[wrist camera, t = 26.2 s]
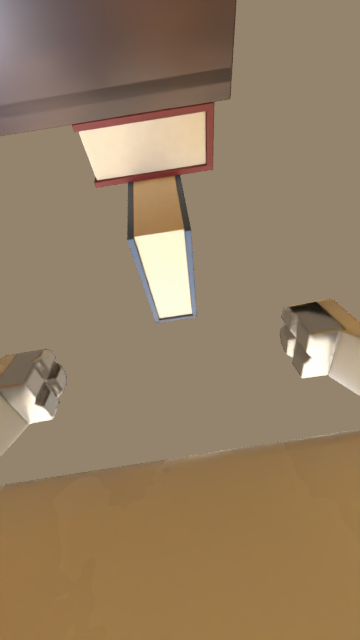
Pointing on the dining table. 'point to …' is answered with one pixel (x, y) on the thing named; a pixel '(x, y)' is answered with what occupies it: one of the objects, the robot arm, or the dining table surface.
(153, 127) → the dictionary
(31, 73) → the bookcase
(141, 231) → the slate book
